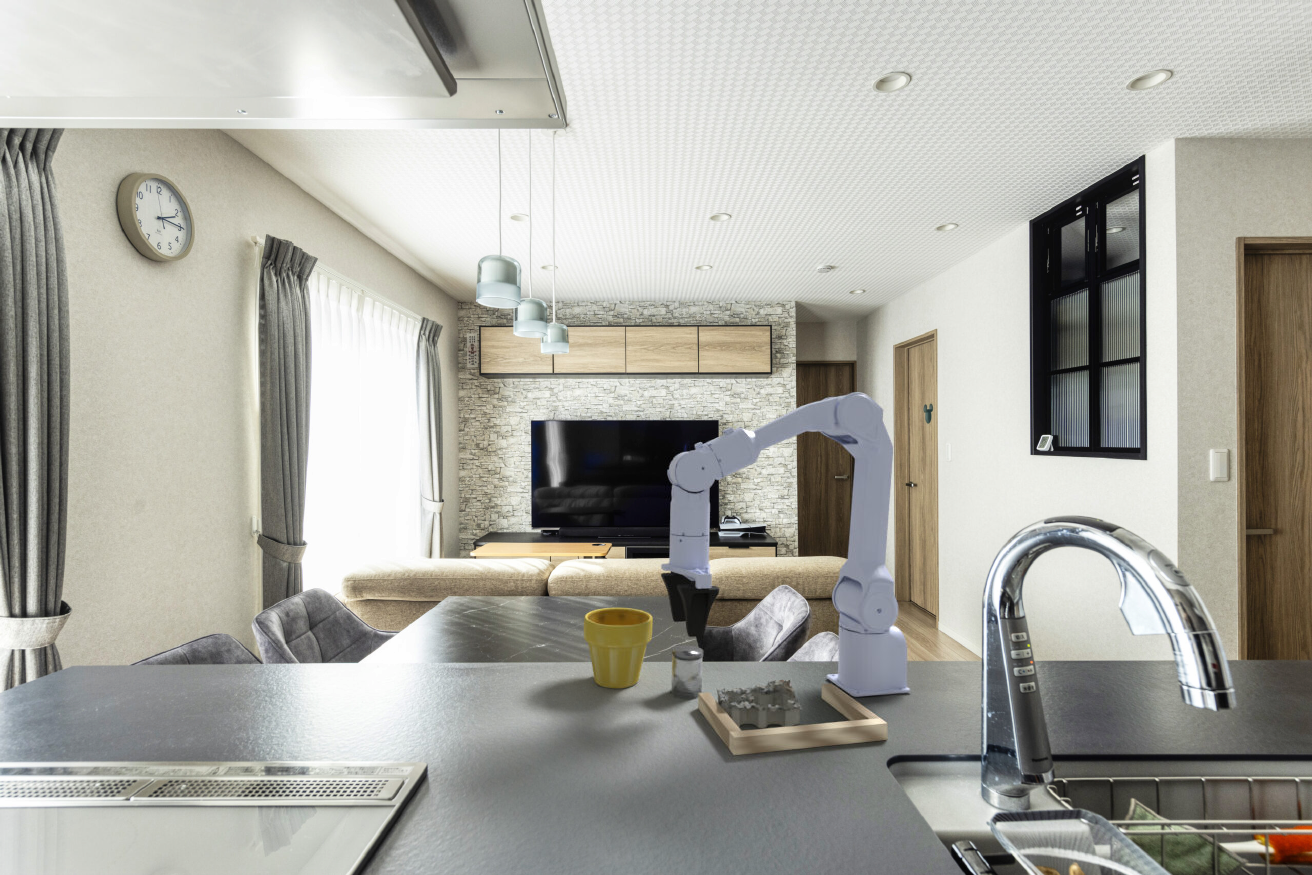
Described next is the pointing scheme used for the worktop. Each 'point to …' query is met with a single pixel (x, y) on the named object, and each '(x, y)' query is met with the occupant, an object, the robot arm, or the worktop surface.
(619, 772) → the worktop surface
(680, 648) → the jar with metallic lid
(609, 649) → the plant pot
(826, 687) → the beech bay
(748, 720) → the egg carton
